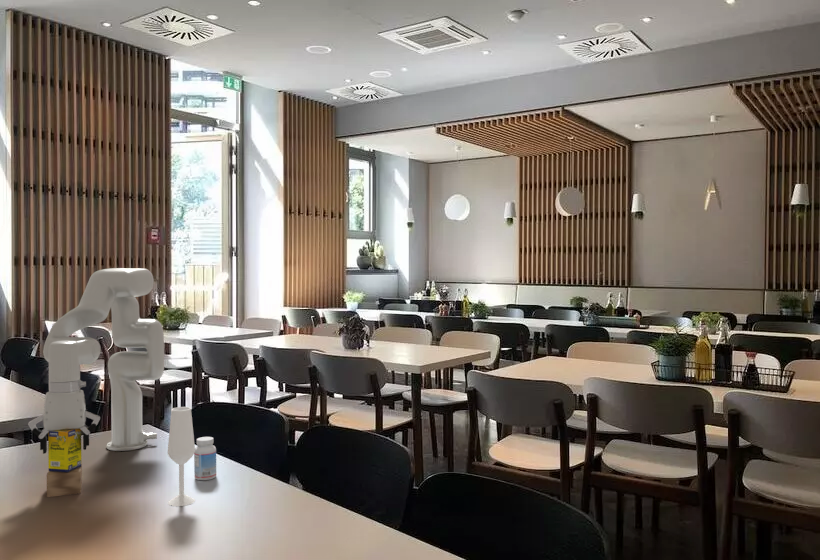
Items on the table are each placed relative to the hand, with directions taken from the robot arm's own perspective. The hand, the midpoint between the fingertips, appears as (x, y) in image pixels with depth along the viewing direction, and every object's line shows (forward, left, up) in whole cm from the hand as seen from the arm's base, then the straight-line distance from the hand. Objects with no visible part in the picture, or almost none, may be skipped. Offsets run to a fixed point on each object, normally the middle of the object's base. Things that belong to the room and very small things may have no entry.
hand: (65, 450), depth 185 cm
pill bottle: (-36, +3, -11) cm, 38 cm away
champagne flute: (-28, +21, -11) cm, 37 cm away
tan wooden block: (0, 0, -11) cm, 11 cm away
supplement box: (0, 0, -5) cm, 5 cm away
